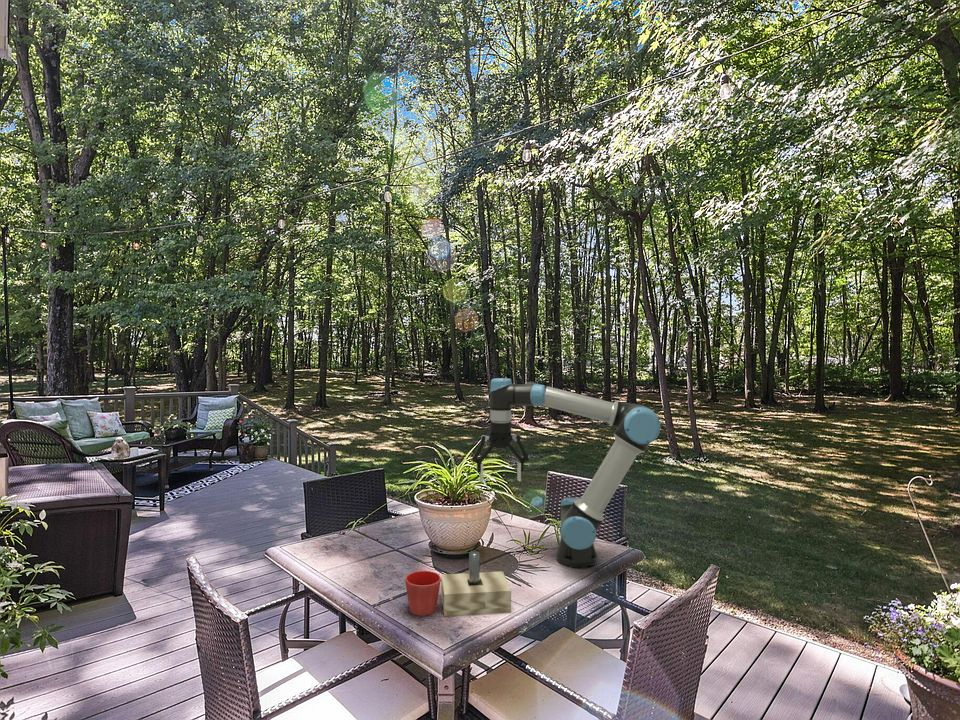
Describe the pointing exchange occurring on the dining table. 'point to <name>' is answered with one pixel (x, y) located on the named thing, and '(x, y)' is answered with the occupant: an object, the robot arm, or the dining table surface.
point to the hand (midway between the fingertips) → (500, 481)
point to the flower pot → (422, 591)
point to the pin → (474, 568)
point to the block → (475, 594)
